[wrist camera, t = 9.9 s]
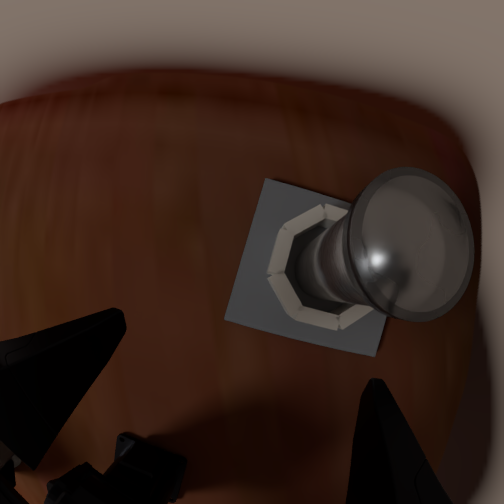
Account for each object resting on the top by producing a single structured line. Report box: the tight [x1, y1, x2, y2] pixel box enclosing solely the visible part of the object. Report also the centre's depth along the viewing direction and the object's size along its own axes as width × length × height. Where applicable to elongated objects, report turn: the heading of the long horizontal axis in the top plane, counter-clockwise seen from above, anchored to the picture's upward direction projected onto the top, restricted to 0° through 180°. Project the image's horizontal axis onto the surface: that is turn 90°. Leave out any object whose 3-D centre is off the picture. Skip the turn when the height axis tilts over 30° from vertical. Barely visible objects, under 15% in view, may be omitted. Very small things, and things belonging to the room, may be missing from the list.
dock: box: [224, 178, 386, 357], centre depth 20 cm, size 11×12×3 cm
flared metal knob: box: [295, 167, 474, 322], centre depth 14 cm, size 5×5×13 cm
